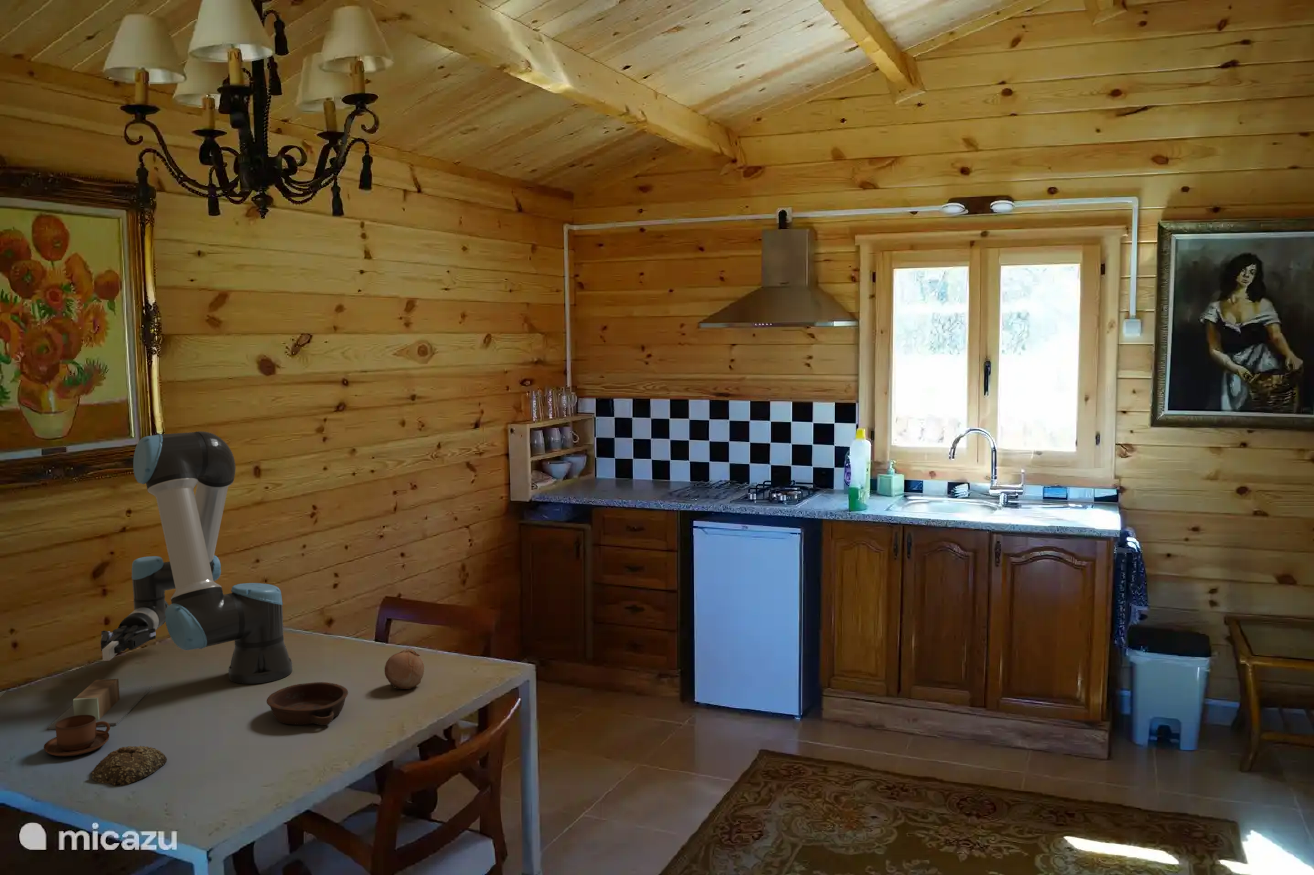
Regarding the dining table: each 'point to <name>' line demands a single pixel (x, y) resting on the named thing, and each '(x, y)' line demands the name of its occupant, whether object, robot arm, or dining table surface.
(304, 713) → the dish
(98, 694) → the walnut block
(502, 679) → the dining table surface
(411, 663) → the onion
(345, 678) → the dining table surface
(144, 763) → the bread roll
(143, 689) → the rubber mat
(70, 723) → the cup and saucer
